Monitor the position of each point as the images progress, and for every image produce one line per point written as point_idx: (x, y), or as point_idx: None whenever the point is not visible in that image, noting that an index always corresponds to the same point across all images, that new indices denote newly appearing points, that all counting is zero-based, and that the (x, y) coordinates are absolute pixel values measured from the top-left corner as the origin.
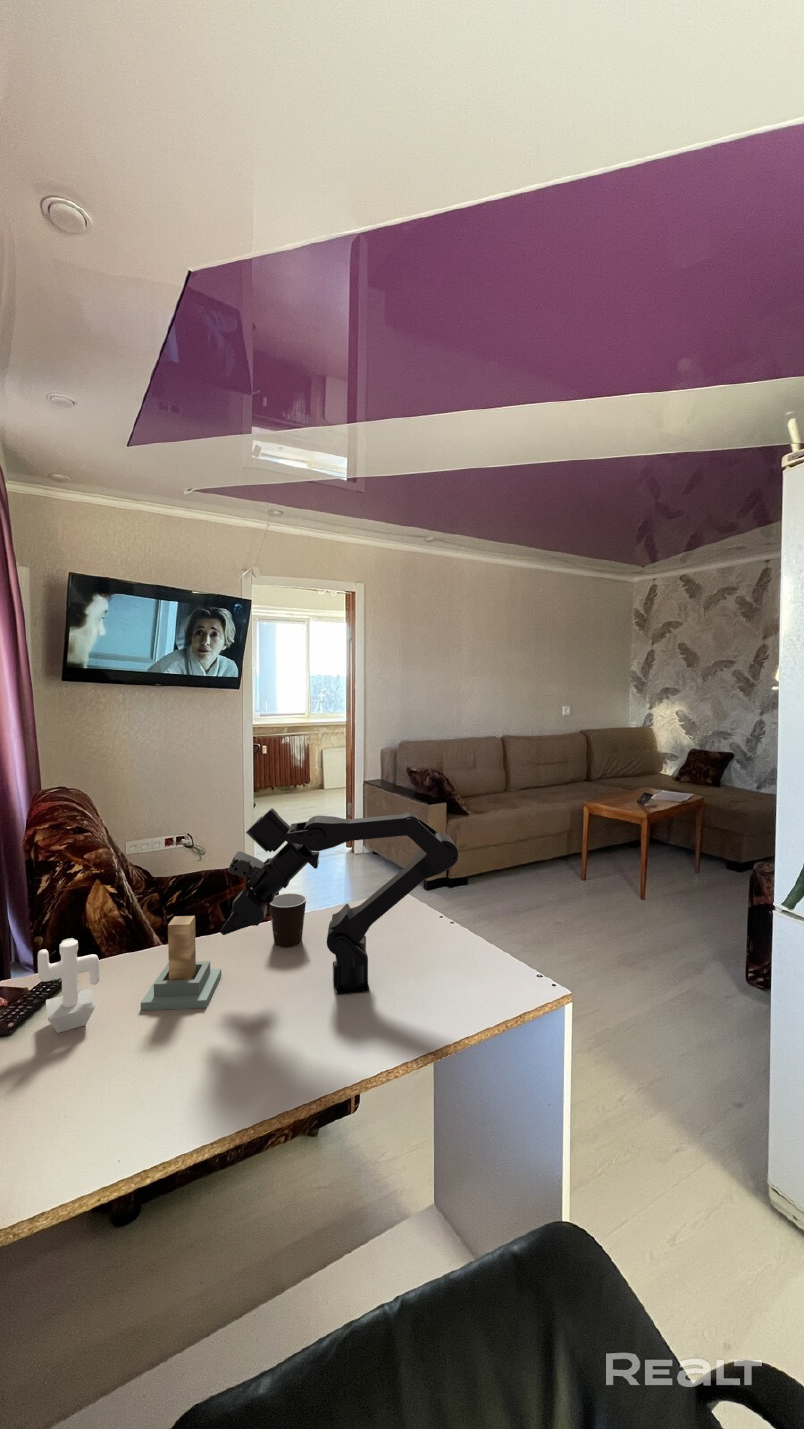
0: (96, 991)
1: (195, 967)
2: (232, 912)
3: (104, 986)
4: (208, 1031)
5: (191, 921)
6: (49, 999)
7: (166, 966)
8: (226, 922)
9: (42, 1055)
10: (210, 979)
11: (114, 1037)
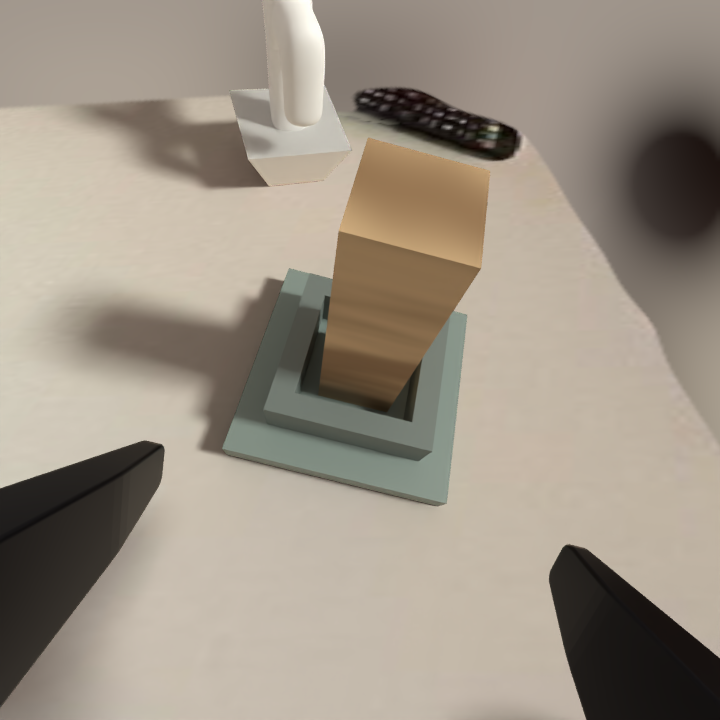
0: None
1: (392, 396)
2: (564, 563)
3: None
4: (70, 463)
5: (393, 247)
6: (324, 90)
7: None
8: (5, 489)
9: (181, 132)
10: (369, 462)
11: (182, 236)
